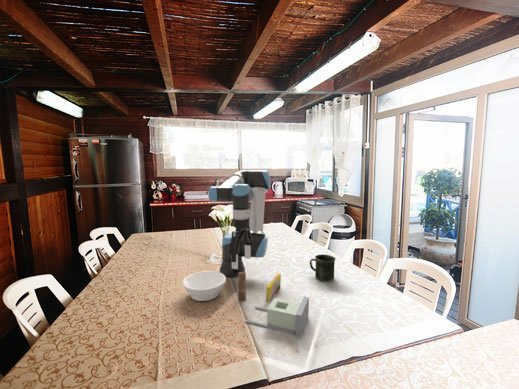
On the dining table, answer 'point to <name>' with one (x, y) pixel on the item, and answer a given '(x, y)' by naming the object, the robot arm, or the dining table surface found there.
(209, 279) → the bowl
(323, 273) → the mug
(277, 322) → the block
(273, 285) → the candy box
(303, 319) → the board
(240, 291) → the dowel
